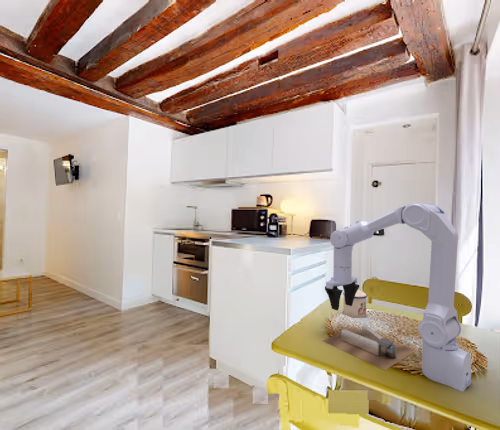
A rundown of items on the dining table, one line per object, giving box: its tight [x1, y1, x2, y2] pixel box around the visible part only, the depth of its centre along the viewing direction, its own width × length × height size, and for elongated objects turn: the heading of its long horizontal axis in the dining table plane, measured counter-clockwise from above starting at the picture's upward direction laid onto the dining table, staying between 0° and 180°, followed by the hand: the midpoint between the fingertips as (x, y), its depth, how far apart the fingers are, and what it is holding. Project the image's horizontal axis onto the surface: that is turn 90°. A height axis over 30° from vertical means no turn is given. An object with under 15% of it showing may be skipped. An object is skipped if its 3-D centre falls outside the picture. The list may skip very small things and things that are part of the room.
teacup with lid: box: [342, 289, 368, 319], centre depth 111 cm, size 12×9×12 cm
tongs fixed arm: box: [340, 328, 394, 356], centre depth 80 cm, size 14×3×4 cm, turn 36°
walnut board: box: [321, 327, 417, 371], centre depth 82 cm, size 20×18×1 cm
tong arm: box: [361, 324, 396, 359], centre depth 81 cm, size 15×3×3 cm, turn 6°
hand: (342, 307), depth 89 cm, fingers open, 7 cm apart
